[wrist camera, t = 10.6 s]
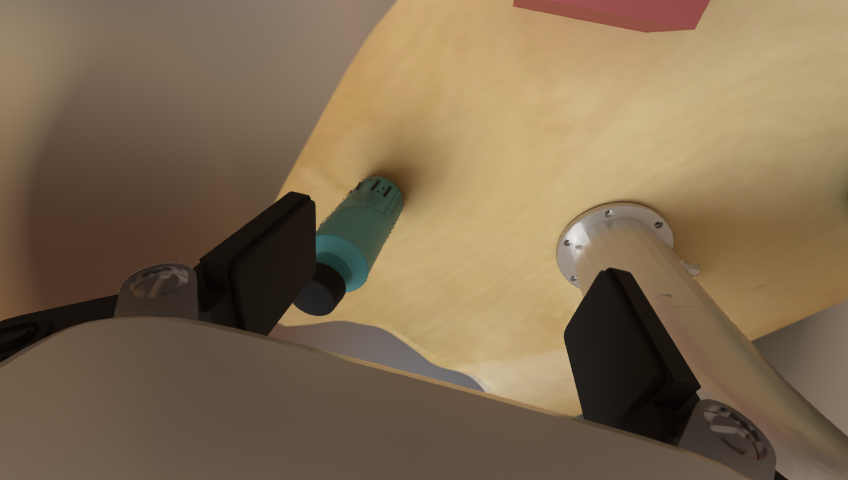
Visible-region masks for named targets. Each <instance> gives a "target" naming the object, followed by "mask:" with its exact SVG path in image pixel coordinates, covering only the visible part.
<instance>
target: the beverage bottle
mask: <svg viewBox="0 0 848 480" xmlns="http://www.w3.org/2000/svg"><path fill="white" fill-rule="evenodd" d="M362 180H363V179H362ZM352 190H353V189H352ZM352 190H351V191H350V192H351V193H350V192H349V193H350V194H349V193H348V194H349V195H348V194H347V195H348V196H347V195H346V196H347V198H346V199H345V198H344V199H345V200H344V199H343V200H344V201H342V203H341V204H339V207H336V208H337V209H336V210H335V211H334V212H333V211H332V212H333V213H332V214H331V215H330V214H329V215H330V216H329V218H327V220H326V221H325V222H324V221H323V222H324V223H323V222H322V223H323V224H322V223H321V224H322V225H321V224H320V228H319V229H318V230H317V231H316V269H315V272H314V275H313V276H312V278H311V279H310V280H309V282H308V283H307V284H306V286H305V287H304V288H303V289H302V291H301V292H300V293H299V295H298V296H297V297H296V299H295V300H294V301H293V304H294V305H295V306H296V307H297V308H299V309H300V310H301V311H303V312H305V313H307V314H310V315H314V316H324V315H327V314H329V313H331V312H332V311H333V310H334V309H335V307H336V306H337V304H338V303H339V302H340V301H341V300H342V298H343V297H344V295H345V292H351V291H354V290H356V289H358V288H360V287H361V286H362V285H363V284H364V283H365V281H366V279H367V277H368V274H369V272H370V270H371V268H372V266H373V264H374V262H375V260H376V258H377V256H378V254H379V252H380V251H381V249H382V247H383V245H384V243H385V241H386V239H387V238H388V236H389V234H390V233H391V230H392V229H393V228H394V227H395V226H394V225H395V223H396V221H397V219H398V217H399V215H400V213H401V211H402V208H403V204H404V201H403V199H402V198H403V197H402V194H401V192H400V190H399V189H398V187H397V186H396V185H395V184H394V183H393V182H392V181H390V180H389V179H386V178H384V177H376V176H373V177H370V178H368V177H367V179H365V178H364V180H363V181H362V182H360V183H359V184H358V186H357V187H356V188H355V189H354V190H353V191H352ZM325 219H326V218H325ZM325 219H324V220H325ZM388 239H389V238H388Z"/></svg>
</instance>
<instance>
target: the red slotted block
mask: <svg viewBox="0 0 848 480" xmlns="http://www.w3.org/2000/svg"><path fill="white" fill-rule="evenodd" d="M709 1H710V0H515V1H514V4H513V6H514V7H519V8H525V9H530V10H535V11H540V12H545V13H550V14H555V15H560V16H565V17H570V18H575V19H580V20H585V21H590V22H596V23H601V24H606V25H611V26H616V27H621V28H626V29H631V30H636V31H641V32H646V33H647V32H662V31H677V30H692V29H695V28H696V26H697V24H698V22H699V20H700V18H701V16H702V14H703V12H704V10H705V9H706V7H707V5H708V3H709Z"/></svg>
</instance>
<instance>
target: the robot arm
mask: <svg viewBox="0 0 848 480" xmlns="http://www.w3.org/2000/svg"><path fill="white" fill-rule="evenodd" d="M608 210H609V211H608ZM606 211H608V212H606ZM566 240H567V241H566ZM673 248H674V237H673V233H672V230H671V228H670V226H669V225H668V223H667V222H666V221H665V220H664V219H663V218H662V217H661V215H659V214H658V213H657V212H655V211H654V210H652V209H650V208H648V207H646V206H643V205H639V204H635V203H623V202H620V203H610V204H606V205H602V206H598V207H595V208H593V209H591V210H588V211H586V212H585V213H583V214H581V215H580V216H578V217H577V218H576V219H575V220H573V221H572V222H571V223H570V224H569V225H568V226H567V227H566V229H565V230H564V231H563V233H562V235H561V236H560V238H559V241H558V244H557V247H556V258H557V263H558V266H559V269H560V271H561V273H562V274H563V276H564V277H565V278H566V279H567V280H568V282H570V283H571V284H573V285H574V286H576V287H577V288H580V289H581V291H582V293H583V296H584V298H583V300H582V302H581V303H580V305H579V307H578V308H577V310H576V312H575V313H574V315H573V317H572V318H571V320H570V322H569V323H568V325H567V327H566V329H565V332H564V341H565V345H566V349H567V353H568V357H569V361H570V364H571V368H572V372H573V376H574V380H575V384H576V388H577V392H578V396H579V400H580V404H581V408H582V412H583V416H584V419H581V418H578V417H574V416H570V415H566V414H563V413H559V412H555V411H552V410H548V409H544V408H540V407H537V406H533V405H529V404H526V403H522V402H518V401H515V400H511V399H507V398H503V397H500V396H496V395H492V394H489V393H485V392H481V391H477V390H473V389H470V388H466V387H462V386H458V385H455V384H451V383H447V382H443V381H440V380H436V379H432V378H428V377H424V376H420V375H417V374H413V373H409V372H405V371H401V370H398V369H394V368H390V367H387V366H382V365H379V364H375V363H371V362H367V361H363V360H359V359H356V358H352V357H348V356H344V355H340V354H336V353H332V352H329V351H325V350H321V349H317V348H313V347H309V346H305V345H301V344H298V343H293V342H290V341H286V340H281V339H278V338H274V337H269V336H268V334H269V333H270V332H271V330H272V329H273V328H274V326H275V325H276V324H277V322H278V321H279V320H280V319H281V317H282V316H283V315H284V313H285V312H286V311H287V309H288V308H289V307H290V305H291V304H292V303H293V301H294V300H295V299H296V297H297V296H298V295H299V293H300V292H301V291H302V289H303V288H304V287H305V286H306V284H307V283H308V282H309V280H310V279H311V278H312V276H313V275H314V272H315V269H316V206H315V202H314V201H312V200H311V198H310V196H309V195H305V194H301V193H297V192H293V191H291V192H289V193H288V194H286V195H285V196H284V197H282V198H281V199H279V200H278V201H277V202H275V203H274V204H273V205H271V206H270V207H269V208H267V209H266V210H265V211H264V212H262V213H261V214H259V215H258V216H257V217H255V218H254V219H253V220H251V221H250V222H249V223H247V224H246V225H245V226H243V227H242V228H241V229H239V230H238V231H237V232H235V233H234V234H233V235H231V236H230V237H229V238H227V239H226V240H225V241H223V242H222V243H221V244H219V245H218V246H217V247H215V248H214V249H212V250H211V251H210V252H208V253H207V254H206V255H204V256H203V257H202V258H200V259H199V260H200V263H199V264H198V265H197V266H195V267H194V268H191V267H190V266H187V265H185V264H179V263H164V264H158V265H153V266H149V267H147V268H144V269H141V270H139V271H137V272H135V273H134V274H132V275H131V276H129V277H128V278H127V279H126V280H125V281H124V282H123V283H122V285H121V288H120V290H119V294H117V295H112V296H108V297H103V298H99V299H95V300H89V301H85V302H80V303H75V304H71V305H66V306H62V307H58V308H52V309H48V310H43V311H39V312H35V313H29V314H25V315H20V316H17V317H13V318H9V319H6V320H3V321H1V322H0V480H848V436H847V435H845V434H844V433H843V432H842V431H841V430H840V429H839V428H837V427H836V426H835V425H834V424H833V423H832V422H831V421H830V420H828V419H827V418H826V417H825V416H824V415H823V414H822V413H820V412H819V411H818V410H817V409H816V408H815V407H814V406H813V405H812V404H811V403H810V402H809V401H808V400H807V399H805V398H804V397H803V396H802V395H801V394H800V393H799V392H798V391H797V390H796V389H795V388H794V387H793V386H792V385H791V384H790V383H789V382H787V380H786V379H785V378H784V377H783V376H782V375H781V374H780V373H779V372H778V371H777V370H776V369H775V368H774V367H773V366H772V365H771V364H770V362H769V361H768V360H767V359H766V358H765V357H764V356H763V355H762V354H761V353H760V352H759V351H758V350H757V349H756V348H755V346H754V345H753V344H752V343H751V342H750V341H749V340H748V339H747V337H746V336H745V335H744V334H743V333H742V332H741V331H740V329H739V328H738V327H737V326H736V325H735V324H734V323H733V322H732V321H731V320H730V319H729V318H728V316H727V315H726V314H725V313H724V312H723V311H722V310H721V308H720V307H719V306H718V305H717V304H716V303H715V301H714V300H713V299H712V298H711V297H710V296H709V295H708V293H707V292H706V291H705V290H704V289H703V288H702V287H701V285H700V284H699V283H698V282H697V281H696V280H695V279H694V277H693V276H696V275H698V274H699V272H700V266H699V265H698V264H695V263H691V262H686V261H685V262H684V261H682V260H681V259H680V258H679V256H678V255H677V254H676V253H675V252H674V251H673Z"/></svg>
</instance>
